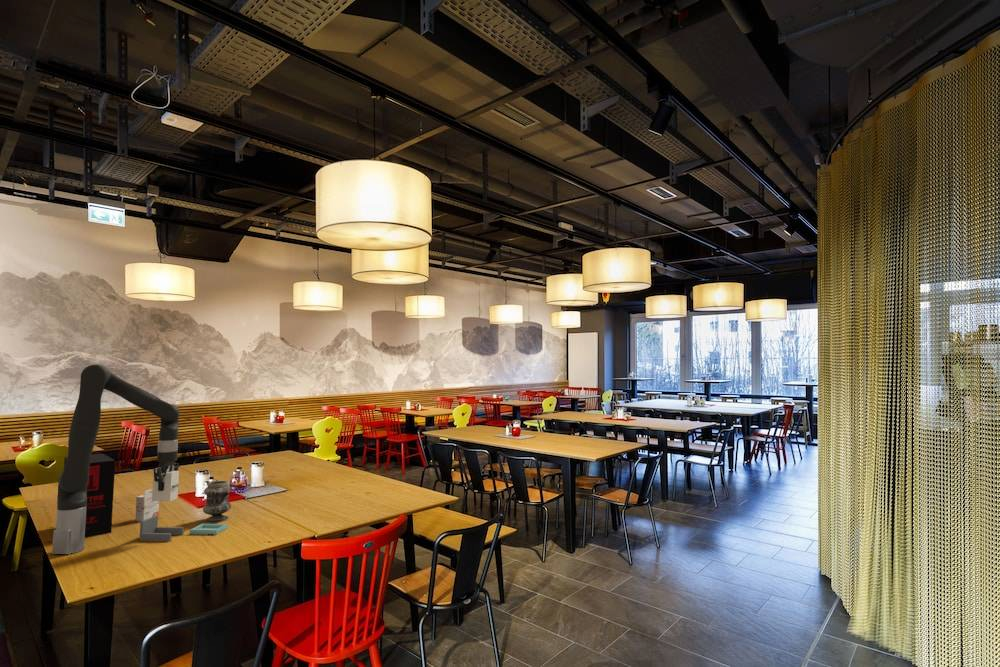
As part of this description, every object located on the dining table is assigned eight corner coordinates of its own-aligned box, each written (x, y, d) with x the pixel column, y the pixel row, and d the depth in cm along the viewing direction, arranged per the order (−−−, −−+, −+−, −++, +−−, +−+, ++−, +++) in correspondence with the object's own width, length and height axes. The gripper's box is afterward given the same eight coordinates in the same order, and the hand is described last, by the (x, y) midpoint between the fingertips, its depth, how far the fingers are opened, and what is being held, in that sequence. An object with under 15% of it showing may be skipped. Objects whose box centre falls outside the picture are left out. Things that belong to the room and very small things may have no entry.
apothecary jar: (221, 514, 259) (223, 478, 260) (235, 518, 253) (237, 481, 254) (197, 520, 249) (198, 482, 250) (211, 524, 242) (213, 486, 244)
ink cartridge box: (150, 516, 255) (151, 486, 256) (158, 517, 254) (159, 486, 255) (134, 521, 247) (136, 490, 248) (143, 522, 246) (144, 490, 247)
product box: (111, 532, 230) (115, 460, 232) (70, 540, 219) (74, 464, 221) (98, 520, 248) (102, 453, 250) (60, 527, 237) (64, 457, 239)
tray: (216, 534, 228) (216, 530, 228) (189, 534, 228) (190, 529, 228) (227, 528, 237) (227, 524, 237) (202, 528, 237) (202, 523, 237)
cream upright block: (171, 501, 222) (173, 473, 223) (151, 500, 222) (153, 472, 223) (179, 498, 227) (180, 471, 228) (159, 498, 227) (161, 470, 228)
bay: (169, 541, 219) (170, 522, 220) (139, 540, 219) (140, 521, 220) (183, 534, 229) (184, 515, 229) (154, 533, 229) (155, 515, 229)
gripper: (165, 452, 219) (162, 493, 218) (186, 447, 234) (184, 485, 232) (147, 452, 219) (145, 493, 218) (170, 447, 234) (167, 485, 232)
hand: (165, 489), depth 225 cm, fingers closed on cream upright block, 5 cm apart
